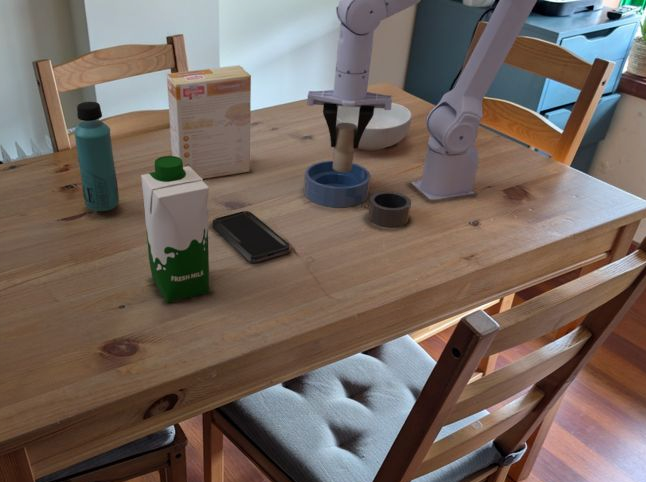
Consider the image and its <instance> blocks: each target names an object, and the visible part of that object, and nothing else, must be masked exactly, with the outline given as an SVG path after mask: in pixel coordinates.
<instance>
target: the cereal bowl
mask: <svg viewBox="0 0 646 482" xmlns="http://www.w3.org/2000/svg"><path fill="white" fill-rule="evenodd" d="M359 110H360V107H345V106H338V111H337V121H336V126H337V124H339V123H352V124H355V125H356V126H358V118H359ZM411 123H412V113H411V111H410V109H408V108H407V107H406V106H404V105H402V104H399V103H396V102H393V101H392V104H391V110H384V109H383V108H374V114H373V117H372V119H371V120H370V122H369V123H368V125H367V126H366V128H365V130H364V132H363V134H362V137H361V139H360V142H359V145H358V149H357V150H359V151H366V152H374V151H375V152H376V151H381V150H383V149H385V148H389V147H392V146H394V145H396V144H398V143H400V142H401V141H402V140H403V139H404V138H405V137H406V136H407V135H408V132H409V131H410V127H411ZM356 131H357V129H356Z"/></svg>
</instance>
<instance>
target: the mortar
mask: <svg viewBox="0 0 646 482" xmlns="http://www.w3.org/2000/svg"><path fill="white" fill-rule="evenodd" d="M411 208H412V200H411V199H410V197H408V196H407V195H405V194H403V193H400V192H396V191H377V192H375V193H373V194H372V195H371V196H370V197H369V201H368V209H367V219H368V221H369V222H370V223H372V224H373V225H375V226H378V227H382V228H389V229H392V228H393V229H394V228H400V227H404V226H405V225H407V223H408V222H409V219H410V214H411Z"/></svg>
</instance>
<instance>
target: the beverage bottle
mask: <svg viewBox="0 0 646 482" xmlns="http://www.w3.org/2000/svg"><path fill="white" fill-rule="evenodd" d="M76 110H77V115H76V116H77V119H78V120H80V121H81V122H80V123H79V124H78V125H77V126H76V127H75V129H74V130H73V135H74V138H75V144H76V145H75V146H76V153H77V161H78V166H79V171H80V172H79V173H80V180H81V187H82V197H83V203H84V204H85V206H86V208H88V209H89V210H91V211H94V212H105V211H110V210H113V209H114V208H116V207H117V206H118V205H119V201H120V194H119V186H118V179H117V173H116V170H117V167H116V165H115V160H114V153H113V145H112V137H111V128H110V127H109V125H108V124H106V123H105V122H103V121H102V120H100V119H102V117H103V112H102V109H101V105H100V103H99V102H96V101H84V102H81V103H78V104H77V105H76Z"/></svg>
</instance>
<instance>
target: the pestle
mask: <svg viewBox="0 0 646 482" xmlns="http://www.w3.org/2000/svg"><path fill="white" fill-rule="evenodd" d="M356 129H357V126H356V125H355V124H352V123H339V124H337V126H336V137H335V147H333V148H334V149H333V158H332V161H333V167H332V168H333V169H334V170H335V171H338V172H348V171H351V170H352V163H354V154H355V149H354V144H355V138H356Z"/></svg>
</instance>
